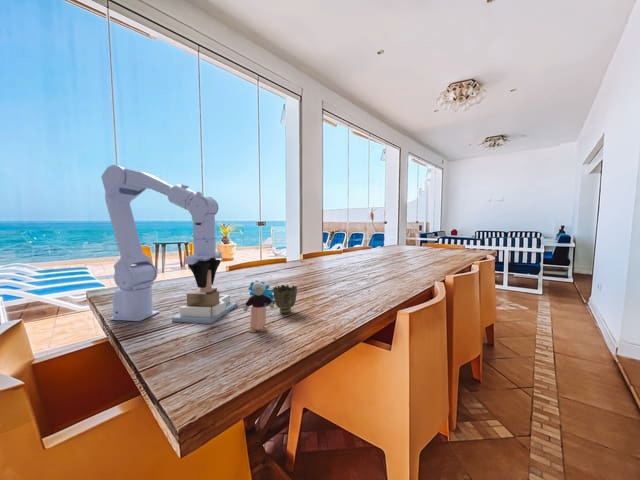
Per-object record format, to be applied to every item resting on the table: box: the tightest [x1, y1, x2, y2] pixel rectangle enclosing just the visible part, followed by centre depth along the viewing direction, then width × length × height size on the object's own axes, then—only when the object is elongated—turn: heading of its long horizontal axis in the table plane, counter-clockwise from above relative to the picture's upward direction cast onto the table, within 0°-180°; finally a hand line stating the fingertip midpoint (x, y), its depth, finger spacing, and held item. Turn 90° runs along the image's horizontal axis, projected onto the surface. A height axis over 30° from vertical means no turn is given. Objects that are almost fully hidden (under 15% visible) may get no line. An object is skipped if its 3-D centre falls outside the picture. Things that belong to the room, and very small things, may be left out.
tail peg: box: [199, 270, 213, 293], centre depth 74 cm, size 3×3×6 cm
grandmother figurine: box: [243, 281, 275, 334], centre depth 67 cm, size 8×4×13 cm, turn 117°
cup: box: [272, 284, 298, 315], centre depth 80 cm, size 8×7×8 cm
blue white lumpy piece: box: [248, 280, 274, 306], centre depth 92 cm, size 11×6×10 cm
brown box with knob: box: [186, 287, 220, 315], centre depth 78 cm, size 8×4×7 cm, turn 82°
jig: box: [171, 294, 238, 324], centre depth 80 cm, size 12×16×4 cm
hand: (205, 286), depth 74 cm, fingers closed on tail peg, 3 cm apart
